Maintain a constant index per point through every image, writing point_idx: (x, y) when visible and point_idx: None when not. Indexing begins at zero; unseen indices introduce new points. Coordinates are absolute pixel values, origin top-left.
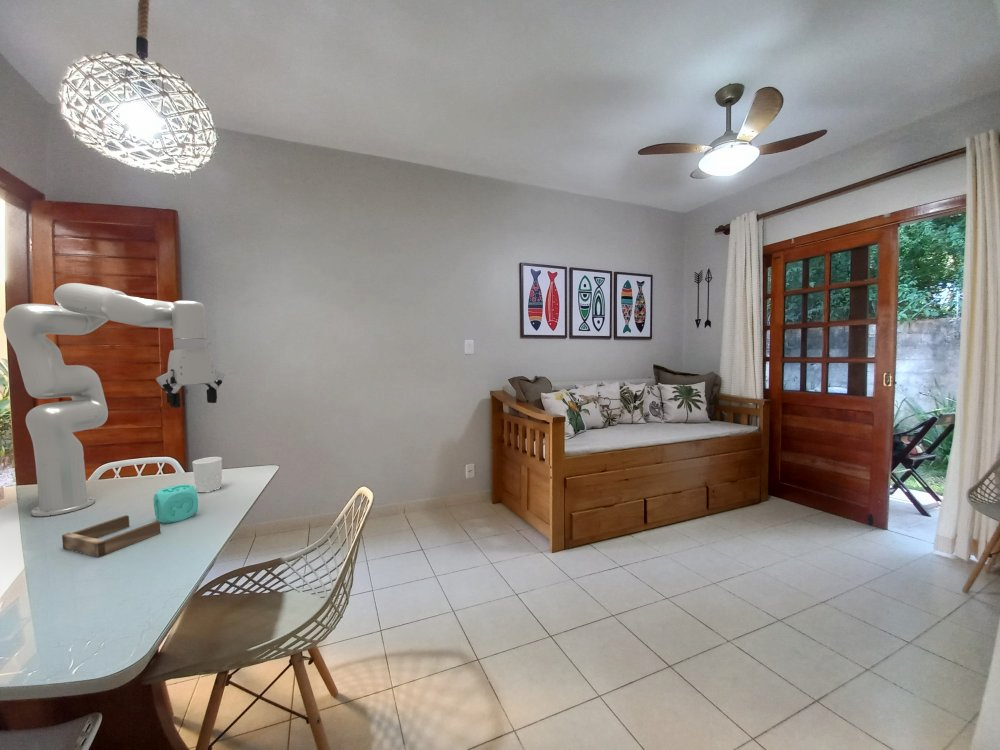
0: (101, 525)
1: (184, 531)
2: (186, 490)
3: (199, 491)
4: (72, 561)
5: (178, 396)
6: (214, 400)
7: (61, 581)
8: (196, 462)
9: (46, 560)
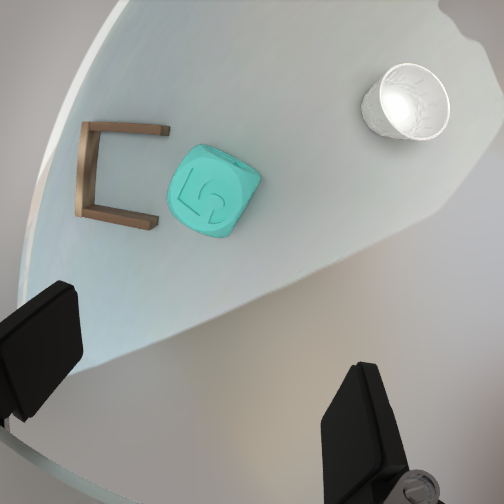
0: (121, 131)
1: (171, 261)
2: (203, 232)
3: (361, 106)
4: (75, 186)
5: (34, 402)
6: (325, 436)
7: (52, 231)
8: (407, 67)
9: (71, 145)
